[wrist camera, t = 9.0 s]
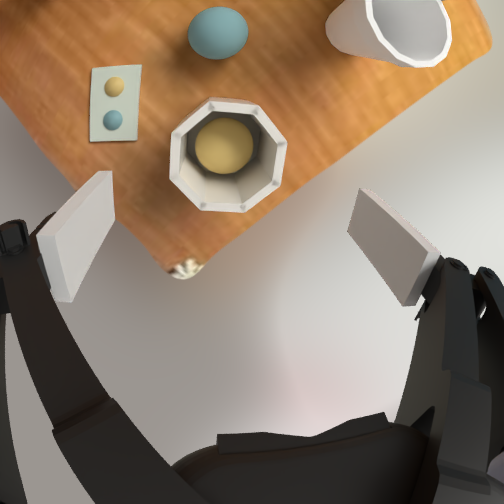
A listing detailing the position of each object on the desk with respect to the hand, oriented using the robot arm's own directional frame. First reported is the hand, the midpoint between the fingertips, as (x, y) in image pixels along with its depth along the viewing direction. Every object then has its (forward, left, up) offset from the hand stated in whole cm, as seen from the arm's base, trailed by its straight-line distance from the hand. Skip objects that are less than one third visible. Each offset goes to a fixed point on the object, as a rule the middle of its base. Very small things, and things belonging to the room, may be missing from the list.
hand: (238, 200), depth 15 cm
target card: (-3, -13, -20) cm, 24 cm away
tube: (+1, 0, -21) cm, 20 cm away
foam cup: (-15, +13, -21) cm, 29 cm away
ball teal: (-11, -2, -21) cm, 24 cm away
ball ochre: (+1, 0, -20) cm, 20 cm away
